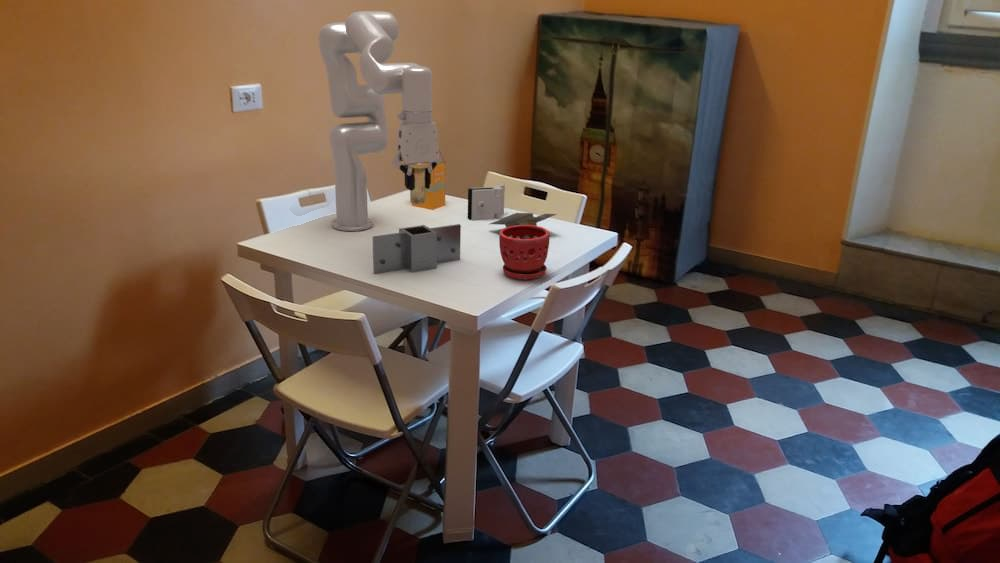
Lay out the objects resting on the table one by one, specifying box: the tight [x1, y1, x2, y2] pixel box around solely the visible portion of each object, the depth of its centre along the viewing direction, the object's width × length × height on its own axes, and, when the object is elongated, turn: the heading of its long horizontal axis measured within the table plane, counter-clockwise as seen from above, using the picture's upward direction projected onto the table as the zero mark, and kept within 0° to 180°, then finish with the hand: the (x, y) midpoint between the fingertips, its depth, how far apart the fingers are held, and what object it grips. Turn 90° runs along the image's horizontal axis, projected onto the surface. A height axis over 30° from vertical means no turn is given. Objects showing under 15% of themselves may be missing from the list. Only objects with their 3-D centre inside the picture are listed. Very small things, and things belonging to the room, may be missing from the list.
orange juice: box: [411, 149, 447, 211], centre depth 264 cm, size 8×9×20 cm
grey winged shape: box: [489, 212, 558, 237], centre depth 239 cm, size 16×9×15 cm
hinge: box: [467, 184, 506, 222], centre depth 255 cm, size 14×5×10 cm, turn 119°
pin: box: [405, 162, 431, 204], centre depth 203 cm, size 7×7×11 cm
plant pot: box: [498, 225, 550, 281], centre depth 206 cm, size 13×13×12 cm
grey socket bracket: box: [372, 223, 462, 275], centre depth 209 cm, size 8×26×10 cm, turn 122°
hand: (417, 187), depth 203 cm, fingers closed on pin, 4 cm apart
